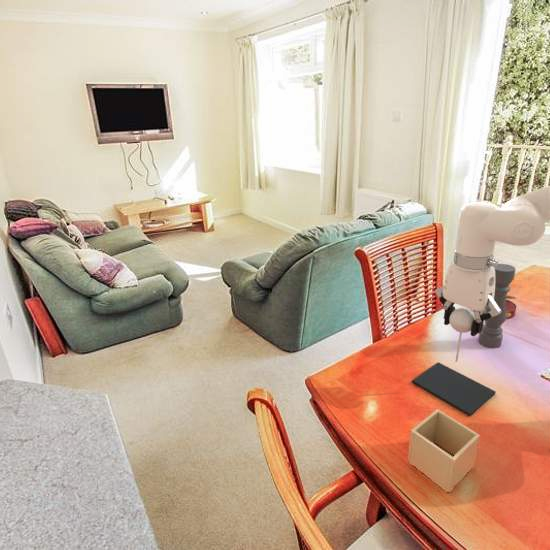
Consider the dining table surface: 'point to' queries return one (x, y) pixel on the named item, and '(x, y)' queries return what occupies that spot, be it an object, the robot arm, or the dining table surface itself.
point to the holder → (451, 439)
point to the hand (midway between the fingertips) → (461, 327)
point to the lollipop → (461, 323)
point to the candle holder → (492, 326)
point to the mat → (454, 388)
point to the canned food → (510, 307)
